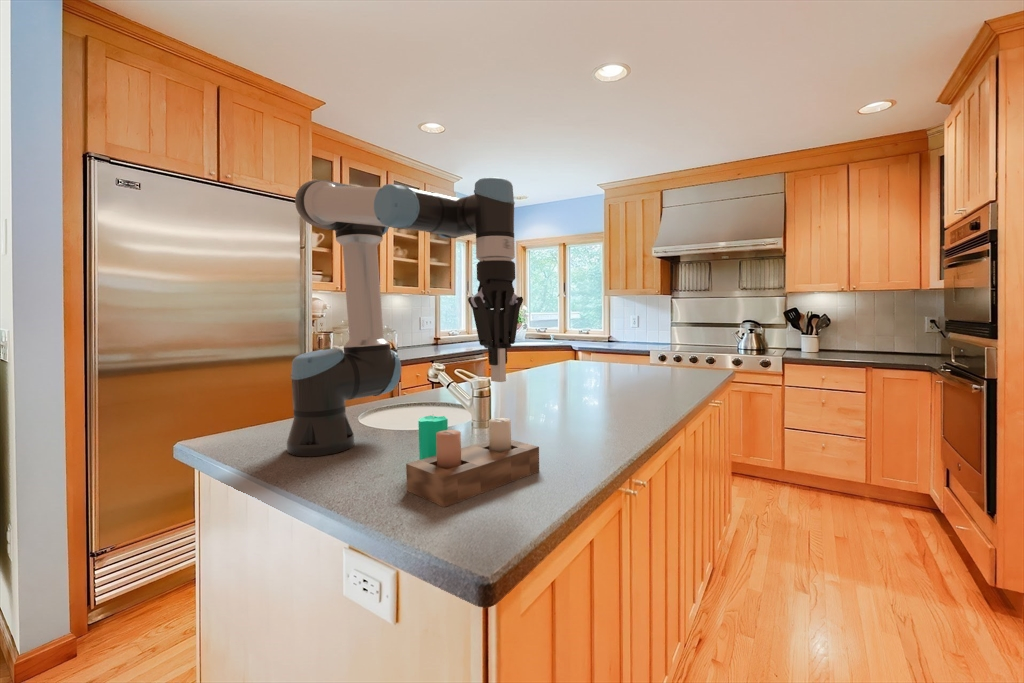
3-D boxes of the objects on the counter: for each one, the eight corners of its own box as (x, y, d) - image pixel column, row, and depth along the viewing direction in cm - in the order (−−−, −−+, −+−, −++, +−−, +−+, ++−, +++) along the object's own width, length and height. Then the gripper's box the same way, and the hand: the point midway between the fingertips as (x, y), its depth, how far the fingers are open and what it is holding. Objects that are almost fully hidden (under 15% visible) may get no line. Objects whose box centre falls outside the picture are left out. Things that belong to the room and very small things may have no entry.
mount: (407, 490, 88) (406, 463, 88) (501, 459, 105) (500, 437, 105) (444, 507, 80) (443, 477, 80) (539, 471, 98) (539, 446, 97)
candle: (443, 473, 97) (441, 414, 96) (415, 472, 98) (413, 413, 97) (452, 464, 103) (451, 408, 102) (426, 463, 104) (424, 407, 103)
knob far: (484, 451, 97) (484, 420, 97) (500, 446, 100) (499, 416, 100) (500, 455, 94) (499, 423, 94) (515, 450, 97) (515, 420, 97)
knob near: (432, 467, 88) (431, 433, 87) (451, 461, 91) (450, 428, 91) (447, 472, 85) (446, 437, 84) (466, 466, 88) (465, 432, 87)
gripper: (483, 257, 87) (486, 387, 89) (532, 261, 96) (534, 379, 98) (457, 260, 92) (460, 383, 94) (506, 264, 102) (508, 376, 103)
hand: (498, 381), depth 96 cm, fingers closed
